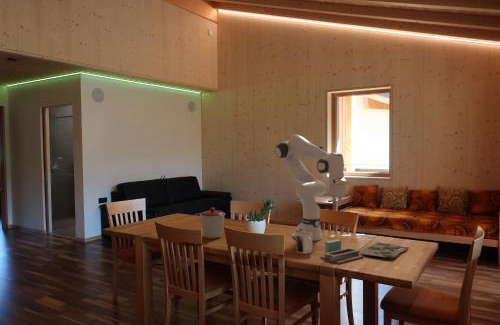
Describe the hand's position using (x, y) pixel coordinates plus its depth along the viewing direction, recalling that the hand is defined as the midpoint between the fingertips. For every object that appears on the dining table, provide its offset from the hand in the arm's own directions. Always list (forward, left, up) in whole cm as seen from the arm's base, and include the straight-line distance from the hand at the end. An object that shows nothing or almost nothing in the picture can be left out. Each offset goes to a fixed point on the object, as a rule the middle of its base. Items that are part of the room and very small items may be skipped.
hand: (336, 202), depth 236 cm
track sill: (+12, -8, -30) cm, 33 cm away
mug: (-10, -17, -30) cm, 36 cm away
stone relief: (+18, +21, -30) cm, 41 cm away
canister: (-76, -45, -30) cm, 93 cm away
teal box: (+1, -4, -30) cm, 30 cm away
